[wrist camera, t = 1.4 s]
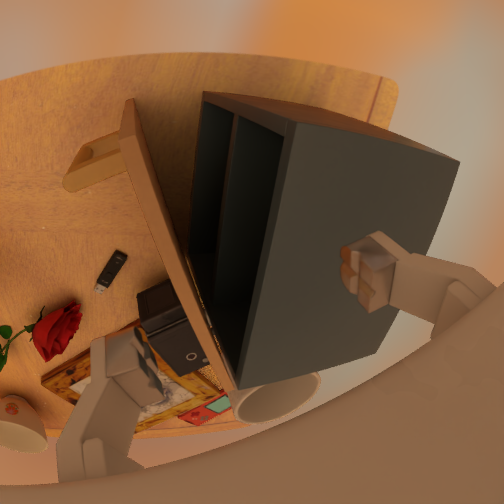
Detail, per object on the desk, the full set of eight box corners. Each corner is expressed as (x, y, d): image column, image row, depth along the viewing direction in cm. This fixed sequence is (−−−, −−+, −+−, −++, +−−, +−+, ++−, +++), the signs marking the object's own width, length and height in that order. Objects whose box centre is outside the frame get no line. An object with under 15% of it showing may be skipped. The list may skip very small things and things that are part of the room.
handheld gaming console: (177, 418, 70) (225, 391, 69) (176, 414, 71) (223, 387, 70) (198, 426, 75) (243, 402, 75) (197, 423, 76) (242, 398, 76)
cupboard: (186, 256, 48) (238, 390, 29) (203, 90, 36) (297, 121, 17) (290, 250, 55) (375, 353, 36) (323, 108, 42) (460, 162, 24)
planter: (266, 367, 72) (293, 418, 60) (199, 367, 63) (220, 428, 51) (300, 314, 65) (337, 367, 53) (227, 308, 57) (258, 373, 45)
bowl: (-18, 402, 47) (-22, 436, 39) (-6, 372, 44) (-12, 412, 37) (37, 424, 57) (37, 458, 49) (56, 399, 54) (57, 438, 46)
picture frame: (140, 327, 49) (220, 394, 68) (139, 318, 51) (217, 387, 70) (40, 384, 48) (132, 435, 67) (41, 376, 49) (131, 428, 68)
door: (143, 271, 46) (170, 411, 27) (81, 117, 32) (20, 184, 13) (184, 256, 47) (235, 389, 29) (133, 98, 33) (135, 133, 14)
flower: (-20, 408, 34) (90, 344, 39) (-49, 364, 32) (53, 286, 37) (-1, 387, 43) (103, 324, 47) (-27, 347, 41) (73, 275, 46)
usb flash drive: (103, 292, 45) (103, 296, 45) (92, 287, 44) (92, 291, 43) (127, 255, 44) (127, 259, 43) (116, 249, 43) (116, 253, 42)
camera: (213, 309, 57) (181, 253, 47) (235, 359, 49) (202, 309, 39) (162, 334, 56) (120, 283, 45) (177, 385, 48) (129, 343, 37)
